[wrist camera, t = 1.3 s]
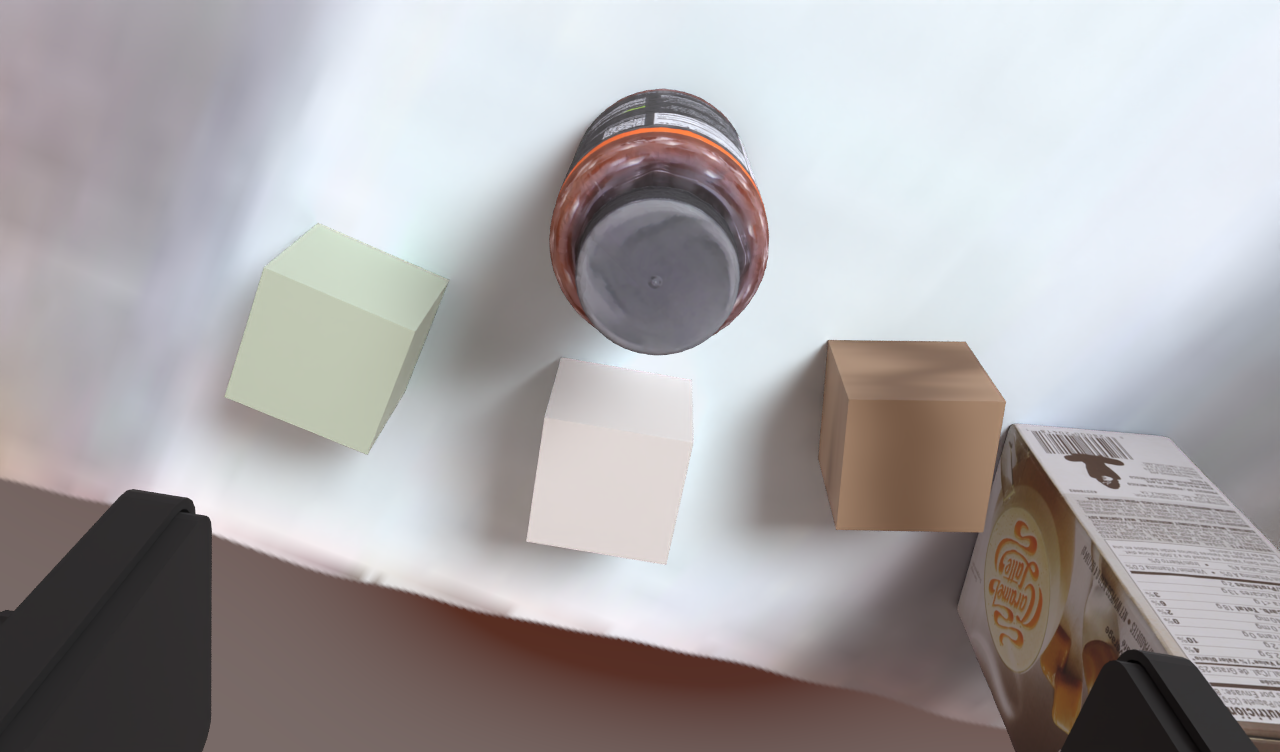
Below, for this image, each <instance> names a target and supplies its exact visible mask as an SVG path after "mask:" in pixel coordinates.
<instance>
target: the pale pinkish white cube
mask: <svg viewBox="0 0 1280 752" xmlns="http://www.w3.org/2000/svg"><path fill="white" fill-rule="evenodd" d="M692 447H693V402H692V380H690V379H684V378H678V377H673V376H667V375H661V374H655V373H650V372H644V371H638V370H632V369H626V368H621V367H615V366H609V365H603V364H598V363H592V362H586V361H580V360H575V359H569V358H563V357H561V360H560V363H559V367H558V370H557V374H556V378H555V381H554V385H553V388H552V392H551V396H550V399H549V403H548V406H547V410H546V414H545V417H544V424H543V431H542V437H541V444H540V451H539V458H538V465H537V471H536V478H535V485H534V492H533V499H532V505H531V512H530V519H529V526H528V533H527V539H526V542H532V543H538V544H544V545H550V546H556V547H562V548H568V549H574V550H580V551H586V552H592V553H598V554H604V555H610V556H616V557H622V558H628V559H634V560H640V561H647V562H653V563H659V564H665V565H666V563H667V559H668V554H669V550H670V545H671V541H672V536H673V532H674V527H675V523H676V518H677V514H678V510H679V505H680V501H681V496H682V492H683V487H684V483H685V478H686V474H687V469H688V465H689V460H690V456H691V451H692Z"/></svg>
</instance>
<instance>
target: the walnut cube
mask: <svg viewBox="0 0 1280 752" xmlns="http://www.w3.org/2000/svg"><path fill="white" fill-rule="evenodd" d="M1005 404H1006V401H1005V400H1004V398H1003V397H1002V395H1001V394H1000V392H999V391H998V389H997V388H996V386H995V385H994V383H993V382H992V380H991V379H990V377H989V376H988V374H987V373H986V371H985V370H984V368H983V367H982V366H981V364H980V363H979V361H978V360H977V358H976V357H975V355H974V354H973V352H972V351H971V349H970V348H969V346H968V345H967V343H966V342H938V341H856V340H828V348H827V359H826V371H825V383H824V395H823V407H822V419H821V431H820V442H819V454H818V460H819V464H820V468H821V472H822V476H823V480H824V484H825V488H826V491H827V495H828V499H829V503H830V507H831V511H832V515H833V519H834V523H835V527H836V530H878V531H931V532H983V531H984V526H985V520H986V514H987V508H988V502H989V497H990V491H991V485H992V479H993V473H994V468H995V462H996V456H997V450H998V445H999V439H1000V433H1001V427H1002V421H1003V416H1004V410H1005Z"/></svg>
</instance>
